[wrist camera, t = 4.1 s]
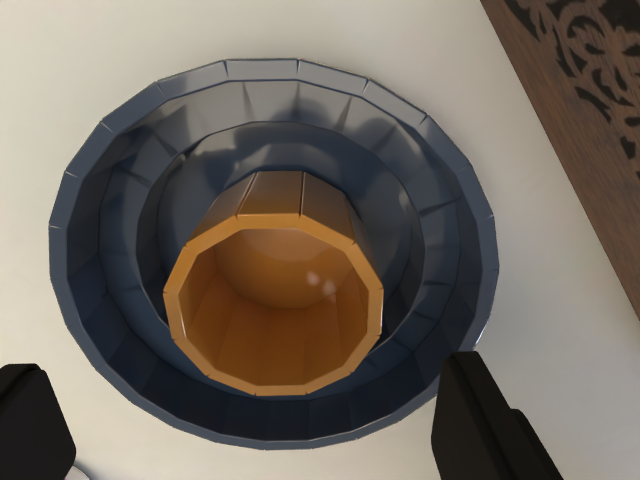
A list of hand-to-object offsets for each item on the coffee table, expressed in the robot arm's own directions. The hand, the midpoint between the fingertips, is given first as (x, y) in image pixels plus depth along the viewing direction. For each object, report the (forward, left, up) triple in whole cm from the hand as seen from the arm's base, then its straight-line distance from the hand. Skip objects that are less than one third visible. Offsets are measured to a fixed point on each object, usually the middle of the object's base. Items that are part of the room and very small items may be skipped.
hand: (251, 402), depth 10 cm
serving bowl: (0, 0, -10) cm, 10 cm away
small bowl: (0, 0, -10) cm, 10 cm away
